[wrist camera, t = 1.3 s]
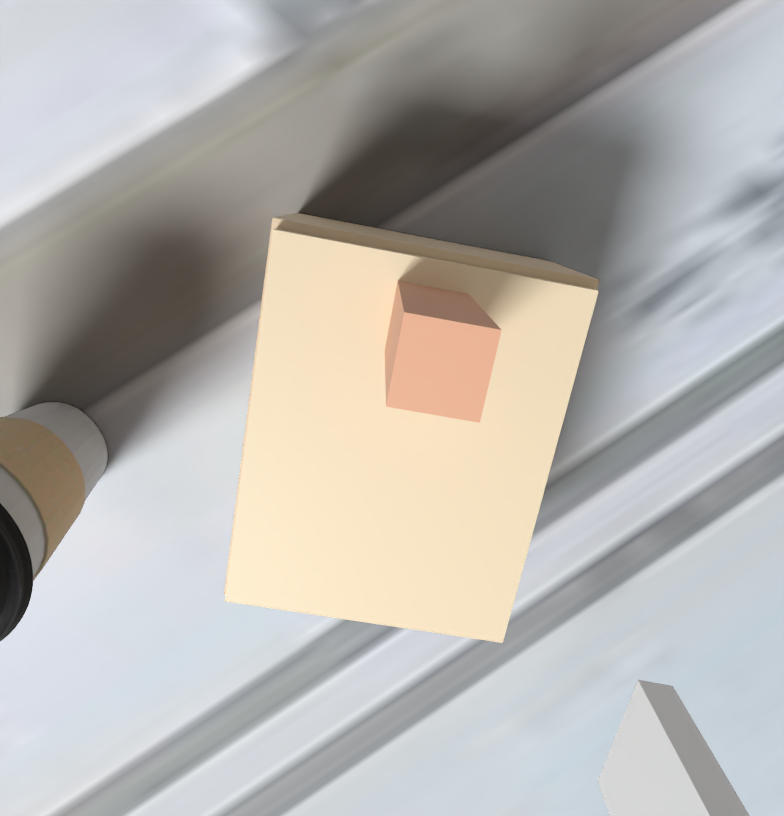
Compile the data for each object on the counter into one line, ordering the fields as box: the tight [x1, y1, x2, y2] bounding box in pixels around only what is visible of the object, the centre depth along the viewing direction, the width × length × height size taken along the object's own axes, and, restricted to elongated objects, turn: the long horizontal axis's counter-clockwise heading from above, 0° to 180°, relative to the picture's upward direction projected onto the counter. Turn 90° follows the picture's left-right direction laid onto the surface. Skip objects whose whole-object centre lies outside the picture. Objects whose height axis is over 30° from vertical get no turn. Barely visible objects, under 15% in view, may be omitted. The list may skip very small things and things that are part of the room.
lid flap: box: [225, 229, 599, 643], centre depth 27 cm, size 17×14×9 cm
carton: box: [224, 213, 600, 594], centre depth 35 cm, size 18×14×9 cm
